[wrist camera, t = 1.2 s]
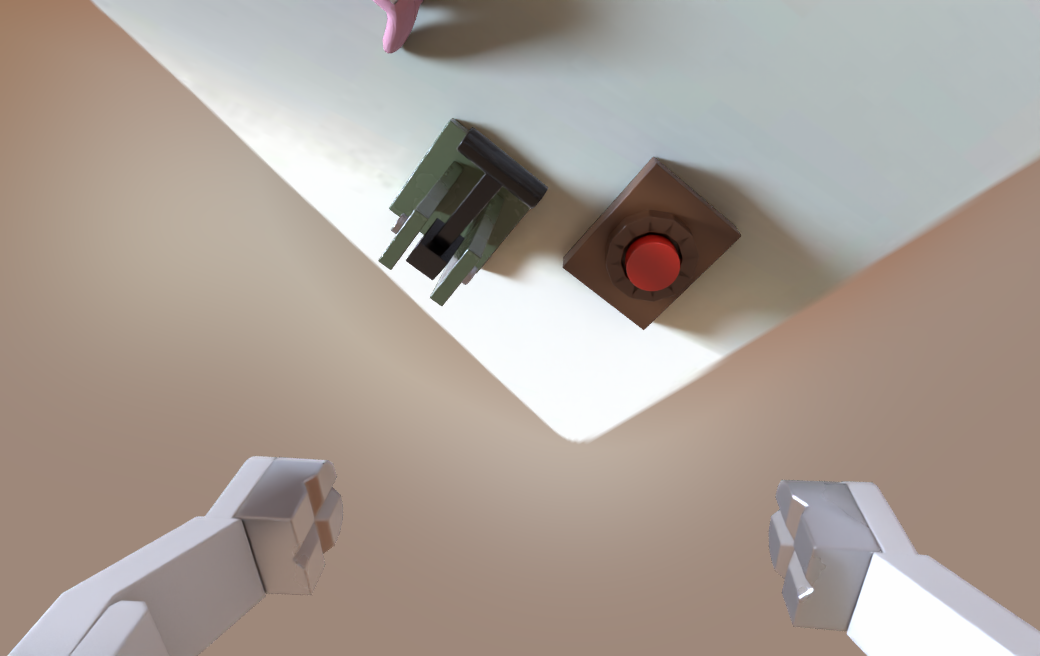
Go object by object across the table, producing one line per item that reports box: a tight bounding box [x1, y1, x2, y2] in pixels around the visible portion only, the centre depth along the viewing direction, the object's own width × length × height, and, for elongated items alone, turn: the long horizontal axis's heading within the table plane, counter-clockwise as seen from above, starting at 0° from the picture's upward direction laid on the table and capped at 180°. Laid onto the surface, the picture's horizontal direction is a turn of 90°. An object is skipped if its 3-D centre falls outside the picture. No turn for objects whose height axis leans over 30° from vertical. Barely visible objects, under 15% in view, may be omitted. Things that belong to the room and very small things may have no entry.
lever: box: [406, 127, 548, 280], centre depth 37 cm, size 12×5×2 cm
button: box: [625, 235, 680, 291], centre depth 48 cm, size 4×4×2 cm
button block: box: [563, 157, 741, 330], centre depth 50 cm, size 11×9×4 cm
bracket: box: [378, 118, 530, 306], centre depth 46 cm, size 9×9×14 cm
